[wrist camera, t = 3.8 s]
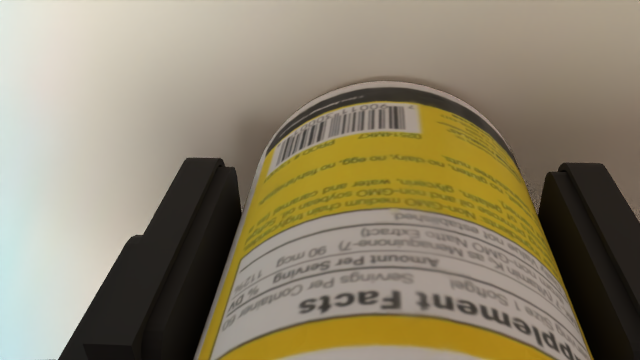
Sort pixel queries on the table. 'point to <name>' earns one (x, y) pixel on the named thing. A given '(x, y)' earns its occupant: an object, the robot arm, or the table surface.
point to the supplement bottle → (390, 241)
